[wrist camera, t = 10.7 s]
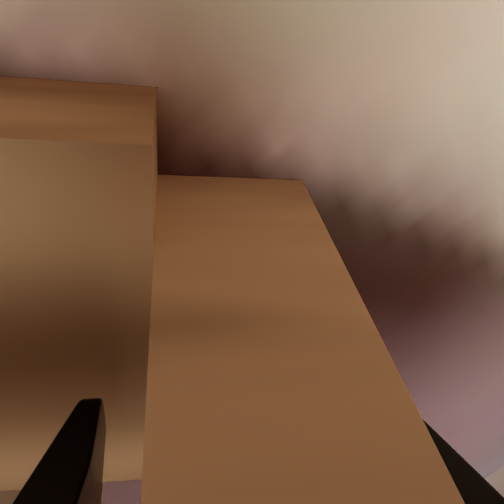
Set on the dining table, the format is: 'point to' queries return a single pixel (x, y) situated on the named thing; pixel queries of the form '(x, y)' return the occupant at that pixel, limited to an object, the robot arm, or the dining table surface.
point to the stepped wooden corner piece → (187, 320)
